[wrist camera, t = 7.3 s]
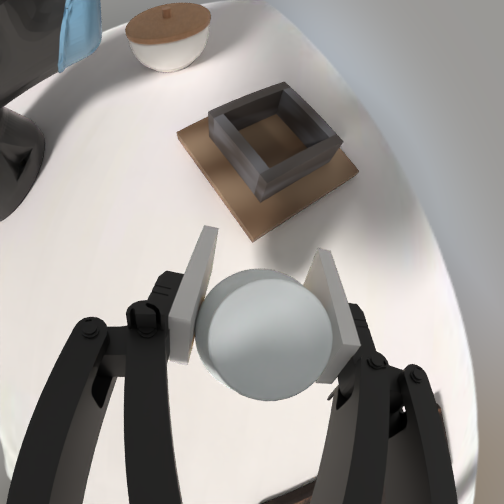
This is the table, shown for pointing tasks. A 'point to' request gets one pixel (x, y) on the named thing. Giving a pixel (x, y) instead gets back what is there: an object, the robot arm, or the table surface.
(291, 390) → the supplement bottle
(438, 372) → the table surface
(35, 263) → the table surface
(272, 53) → the table surface
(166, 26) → the lidded jar
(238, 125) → the wooden square holder
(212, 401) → the table surface
